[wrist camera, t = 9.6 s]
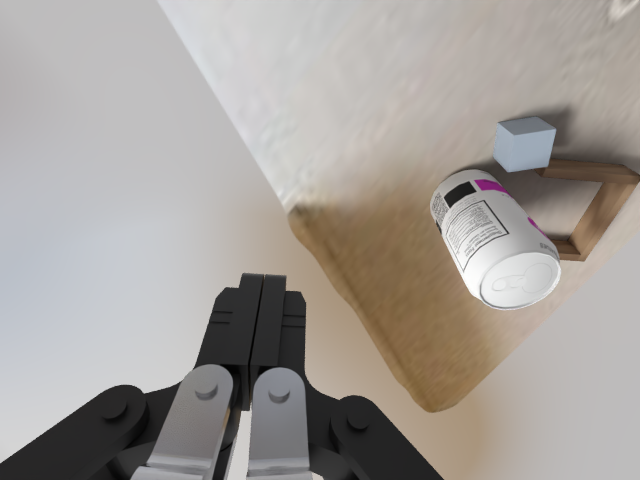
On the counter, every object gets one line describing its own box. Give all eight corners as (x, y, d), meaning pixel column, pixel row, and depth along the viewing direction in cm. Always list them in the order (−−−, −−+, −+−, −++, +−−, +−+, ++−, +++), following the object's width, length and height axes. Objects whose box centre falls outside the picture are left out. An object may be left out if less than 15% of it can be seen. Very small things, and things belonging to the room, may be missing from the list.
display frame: (532, 157, 41) (546, 168, 38) (623, 165, 41) (642, 176, 39) (492, 241, 48) (501, 255, 45) (570, 247, 48) (584, 261, 46)
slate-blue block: (497, 122, 38) (513, 135, 35) (536, 116, 38) (556, 128, 35) (492, 156, 41) (508, 172, 37) (529, 151, 40) (547, 166, 37)
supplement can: (498, 159, 41) (576, 237, 29) (495, 217, 46) (561, 305, 33) (426, 175, 42) (471, 257, 30) (431, 231, 47) (471, 321, 35)
